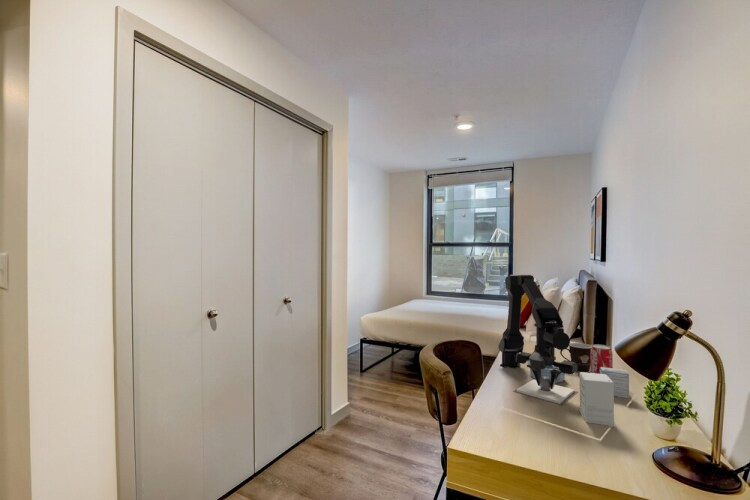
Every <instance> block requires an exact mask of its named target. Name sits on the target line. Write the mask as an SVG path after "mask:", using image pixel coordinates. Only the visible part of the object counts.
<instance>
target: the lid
mask: <svg viewBox="0 0 750 500" xmlns="http://www.w3.org/2000/svg"><path fill="white" fill-rule="evenodd" d="M550 383H551V378H549V377H546V376H541V377H540V386H538V384H537V381H536V379H534V378H533V379H532V380H530V381H528V382H527V383H526V382H525V385H524V384H522V385H521V386H520V388H519V387H518V388H516V389H517V392H520V393H523V394H527V395H530V396H534V397H538V398H541V399H545V400H548V401H552V402H555V403H559V404H560V403H561V402H562V401H564V400H565V399H566V398H567V397H569V396H570V395H571V394H572V393H574V391H575V389H573V388H569V387H565V386H562V385H557V384H555V385H554V387H553V389H551V387H550Z"/></svg>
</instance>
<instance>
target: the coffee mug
mask: <svg viewBox="0 0 750 500" xmlns="http://www.w3.org/2000/svg"><path fill="white" fill-rule="evenodd" d="M591 348H592V344H586V343H581V342H570V345H569V346H568V348H566V349H565V351H566V350H567V351H568V353H569V355H570V357H569V358H570V359H568V357H565V356H564V354H563V353H562V352H563V351H564V350H559V353H560V355H561V357H562V358H564V359H565V360H566V361H571V362H575V363H576V364H577V371H576V372H578V371H579V373H580V372H584V373H590V356H591Z"/></svg>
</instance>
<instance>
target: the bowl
mask: <svg viewBox="0 0 750 500" xmlns="http://www.w3.org/2000/svg"><path fill="white" fill-rule="evenodd" d="M529 369H530V368H529ZM551 370H553V367H552V366H546V368H545V369H541V376H546V377H549V378H551V373H550V371H551ZM529 371H530V372H529V373H530V376H531V377H532V378H533V379H534V380H536V378H535V376H534V373H533V371H532V370H531V369H530V370H529ZM565 374H566V373H561V374H560V375H559V376H558V378H557V380H556V383H555V384H559V383H562V382H564V380H565V377H566V376H565Z"/></svg>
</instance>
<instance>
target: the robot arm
mask: <svg viewBox="0 0 750 500" xmlns="http://www.w3.org/2000/svg"><path fill="white" fill-rule="evenodd" d="M504 285H505V289H506V291H507V293H508V294H509V296H508V297H509V299H508V309H507V310H508V312H507V313H508V314H507V327H506V329H505V330H504V331H503V332H502V336H501V337H502V338H501V340H500V341H499V343H498V351H500V352H501V363H500V364H499V366H501V367H504V368H511V369H516V368H518V367H521V366H522V364H523V365H524V364H526V363H527V364H526V367H527V368H529V369H531V370H532V371H533V373H534V376H535V378H536V379H535V380H536V381H537V384H538V386H540V377H541V369H545V368H546V366H552V367H553V370H551V371H550V373H551V383H550V387H551V389H553V387H554V385H556V384H557V383H556V380H557V378H558V376H559V375H560V374H561V373H565V374H567V375H574V374H575V373H577V372H578V371H577V364H576V363H575V362H571V360H570V361H568V360H566V359H565V360H563V361H561V362H560V361H555V360H556V359H557V357H556V356H555V355H556V353H555V352H556V351H555V349H557V350H559V351H561V350H563V351H565V350H566V348H568V349H569V345H570V343H571V338H570V337H569V335H568V334H567V333H566V332H565V329H564V321H563V319H562V318H561V315H560V313H559V310H558V309H557V307H556V306H555V305H554V304H553V303H552V302H551V301H549V300H547V299H546V298H545V296H544V295H543V294H542V291H541V290H540V288H539V286H538V285H537V283H536V281H535V277H534V275H532V274H508V275H507V276H506V277H505V280H504ZM524 295H526V297H527V299H528V301H529V303H530V304H531V306H532V307H531V308H532V309H531V314H532V317H533V320H534V322H535V323H534V325H533V326H534V327H535V328H536V333H535V334H536V341H535V343H536V344H535V345H534V350H533V352H532V353H531V352H525V351H524V348H525V347H524V346H525V342H524V339H525V338H524V336H523V334H522V332H521V329H520V327H521V317H522V316H521V314H522V300H523V296H524Z"/></svg>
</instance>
